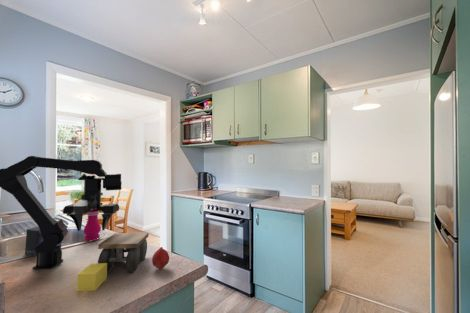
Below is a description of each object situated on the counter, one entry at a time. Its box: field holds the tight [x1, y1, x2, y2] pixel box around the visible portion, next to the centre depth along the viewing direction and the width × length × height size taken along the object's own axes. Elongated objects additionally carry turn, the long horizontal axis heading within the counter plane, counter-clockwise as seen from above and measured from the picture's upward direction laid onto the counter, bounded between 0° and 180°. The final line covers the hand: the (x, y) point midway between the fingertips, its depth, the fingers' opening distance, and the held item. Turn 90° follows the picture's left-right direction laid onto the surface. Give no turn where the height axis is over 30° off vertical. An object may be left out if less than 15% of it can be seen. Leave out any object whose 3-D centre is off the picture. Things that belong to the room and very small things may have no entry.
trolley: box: [97, 232, 149, 273], centre depth 80 cm, size 13×16×10 cm
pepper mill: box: [83, 208, 102, 242], centre depth 108 cm, size 7×7×20 cm
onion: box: [151, 246, 170, 271], centre depth 78 cm, size 6×6×8 cm
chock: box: [76, 262, 108, 292], centre depth 68 cm, size 5×7×5 cm
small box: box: [24, 225, 62, 257], centre depth 93 cm, size 11×6×10 cm, turn 168°
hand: (91, 230), depth 86 cm, fingers open, 9 cm apart
